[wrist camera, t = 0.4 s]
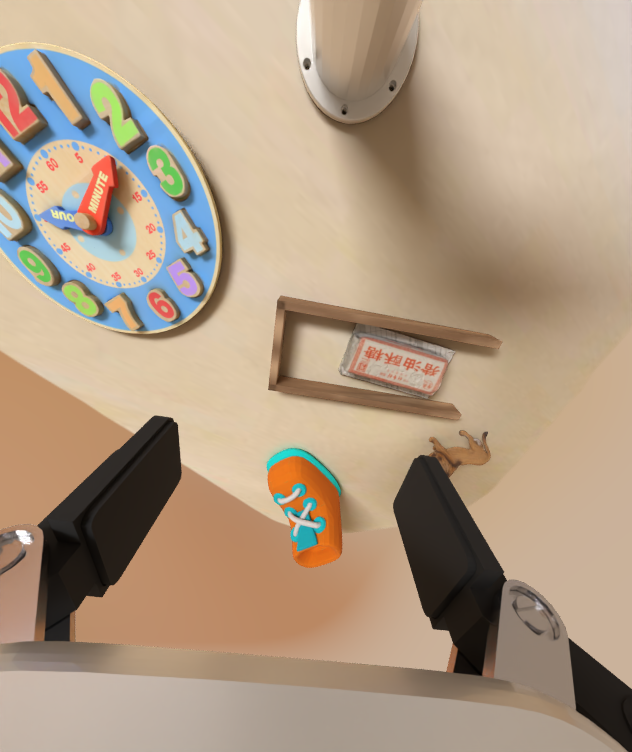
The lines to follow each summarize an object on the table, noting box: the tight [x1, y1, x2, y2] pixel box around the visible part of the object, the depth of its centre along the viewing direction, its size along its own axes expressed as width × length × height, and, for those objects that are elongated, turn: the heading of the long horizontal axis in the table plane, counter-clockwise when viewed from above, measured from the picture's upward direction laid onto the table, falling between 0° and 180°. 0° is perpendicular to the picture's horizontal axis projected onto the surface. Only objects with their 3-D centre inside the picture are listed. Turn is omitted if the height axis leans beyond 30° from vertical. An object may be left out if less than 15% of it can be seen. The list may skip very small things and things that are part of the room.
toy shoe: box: [267, 448, 342, 568], centre depth 51 cm, size 12×20×15 cm, turn 35°
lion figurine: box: [429, 430, 490, 478], centre depth 48 cm, size 15×5×9 cm, turn 114°
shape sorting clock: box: [0, 42, 222, 334], centre depth 32 cm, size 31×30×6 cm
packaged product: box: [339, 323, 455, 399], centre depth 42 cm, size 18×5×10 cm
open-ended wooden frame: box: [268, 296, 502, 420], centre depth 42 cm, size 15×35×4 cm, turn 80°
